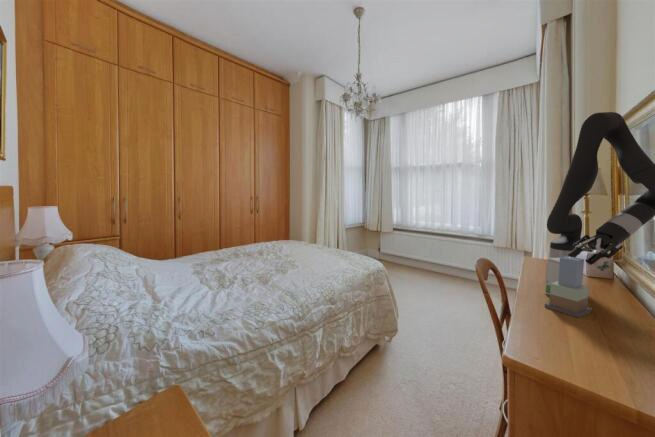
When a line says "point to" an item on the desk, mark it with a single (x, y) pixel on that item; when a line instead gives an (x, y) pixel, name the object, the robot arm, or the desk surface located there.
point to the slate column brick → (571, 272)
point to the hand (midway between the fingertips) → (578, 259)
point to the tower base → (569, 299)
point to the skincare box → (552, 273)
